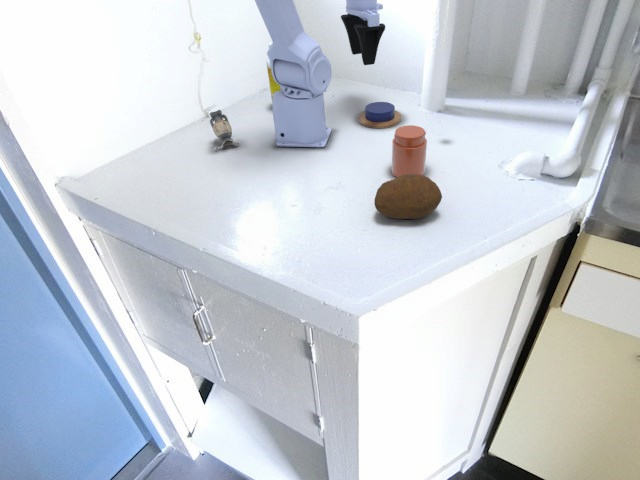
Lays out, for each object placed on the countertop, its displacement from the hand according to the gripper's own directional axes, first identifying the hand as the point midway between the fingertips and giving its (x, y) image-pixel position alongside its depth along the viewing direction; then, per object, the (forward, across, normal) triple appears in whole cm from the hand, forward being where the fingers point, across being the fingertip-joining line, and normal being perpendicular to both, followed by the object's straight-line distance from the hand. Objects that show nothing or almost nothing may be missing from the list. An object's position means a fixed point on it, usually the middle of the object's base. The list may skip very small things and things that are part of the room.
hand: (363, 58), depth 95 cm
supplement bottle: (+10, +7, +15) cm, 20 cm away
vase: (+10, -7, +31) cm, 33 cm away
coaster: (+10, -7, -1) cm, 12 cm away
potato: (+10, -42, +7) cm, 44 cm away
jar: (+10, -30, +2) cm, 32 cm away
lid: (+8, -7, -1) cm, 11 cm away
